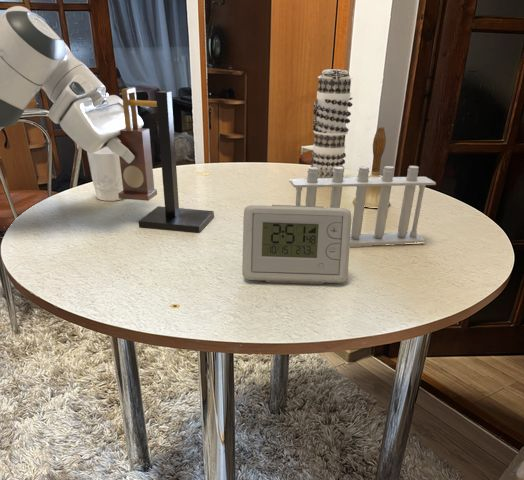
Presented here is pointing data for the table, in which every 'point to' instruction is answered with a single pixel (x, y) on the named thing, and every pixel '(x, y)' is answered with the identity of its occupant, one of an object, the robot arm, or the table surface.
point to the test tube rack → (362, 183)
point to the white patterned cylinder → (331, 121)
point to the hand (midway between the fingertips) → (138, 157)
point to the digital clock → (296, 244)
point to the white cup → (106, 174)
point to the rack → (170, 176)
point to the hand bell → (375, 169)
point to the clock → (138, 140)
